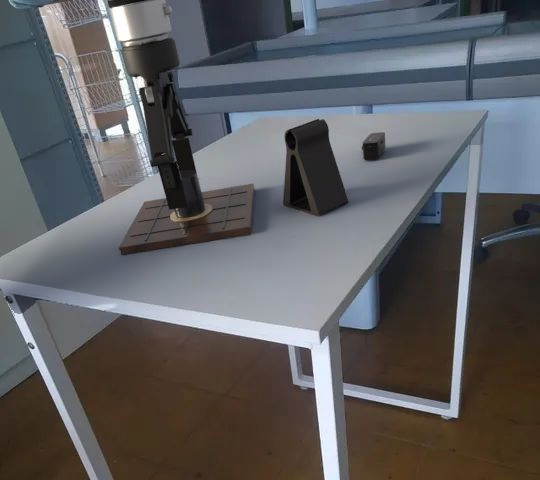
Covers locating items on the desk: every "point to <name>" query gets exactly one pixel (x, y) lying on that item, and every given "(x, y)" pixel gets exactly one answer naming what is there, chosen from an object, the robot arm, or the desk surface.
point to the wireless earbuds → (373, 146)
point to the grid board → (192, 221)
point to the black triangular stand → (312, 170)
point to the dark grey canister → (191, 195)
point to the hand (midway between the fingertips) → (184, 192)
